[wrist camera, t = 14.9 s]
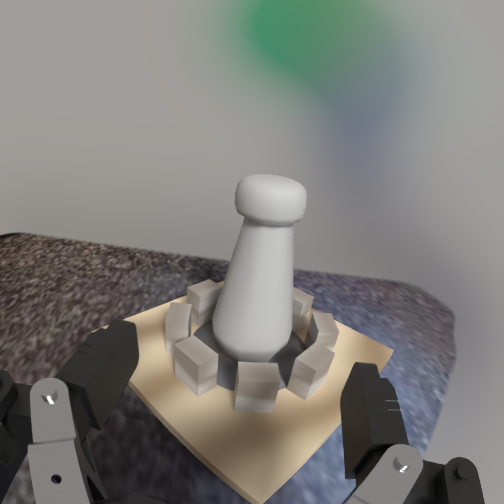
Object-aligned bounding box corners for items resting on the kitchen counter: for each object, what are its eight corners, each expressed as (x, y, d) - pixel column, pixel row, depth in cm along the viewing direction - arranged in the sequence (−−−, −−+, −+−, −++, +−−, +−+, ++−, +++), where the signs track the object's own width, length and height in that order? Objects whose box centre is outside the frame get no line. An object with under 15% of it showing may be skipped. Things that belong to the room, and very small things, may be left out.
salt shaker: (251, 388, 20) (283, 194, 15) (194, 346, 23) (203, 171, 18) (300, 350, 24) (337, 186, 19) (246, 318, 28) (266, 167, 22)
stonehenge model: (93, 340, 23) (86, 300, 22) (243, 280, 36) (247, 247, 34) (257, 508, 13) (269, 481, 11) (389, 358, 26) (405, 323, 24)
